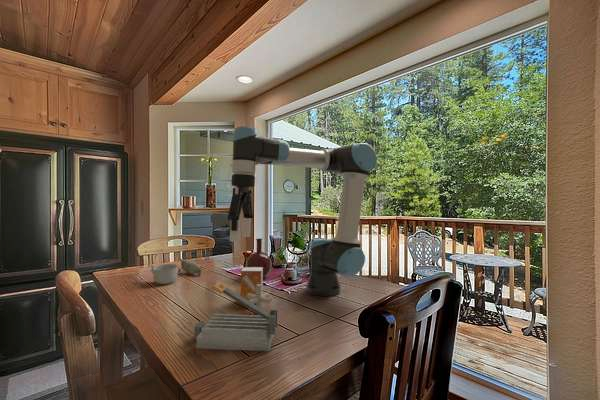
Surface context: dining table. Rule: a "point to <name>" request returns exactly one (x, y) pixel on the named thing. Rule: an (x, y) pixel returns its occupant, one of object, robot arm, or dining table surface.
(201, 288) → the dining table surface
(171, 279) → the teacup
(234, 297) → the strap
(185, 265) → the decorative bird
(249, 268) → the small box
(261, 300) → the pipe connector
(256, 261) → the round-bottom flask
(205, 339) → the heatsink
